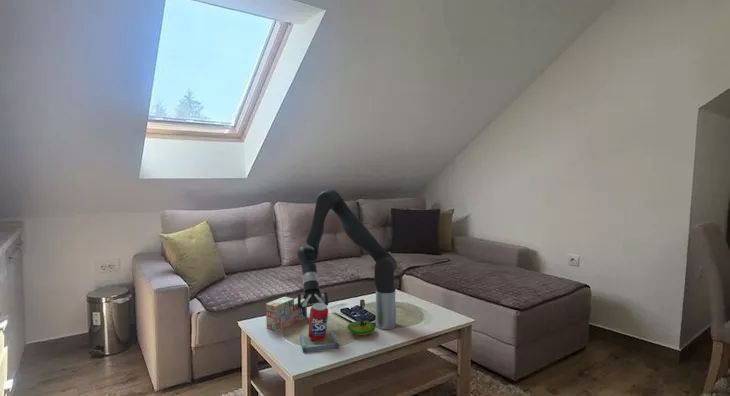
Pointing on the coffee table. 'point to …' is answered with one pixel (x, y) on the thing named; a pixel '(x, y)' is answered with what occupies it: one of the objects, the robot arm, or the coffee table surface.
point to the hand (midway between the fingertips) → (314, 314)
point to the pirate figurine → (361, 323)
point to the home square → (322, 346)
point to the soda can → (318, 321)
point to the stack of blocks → (283, 313)
